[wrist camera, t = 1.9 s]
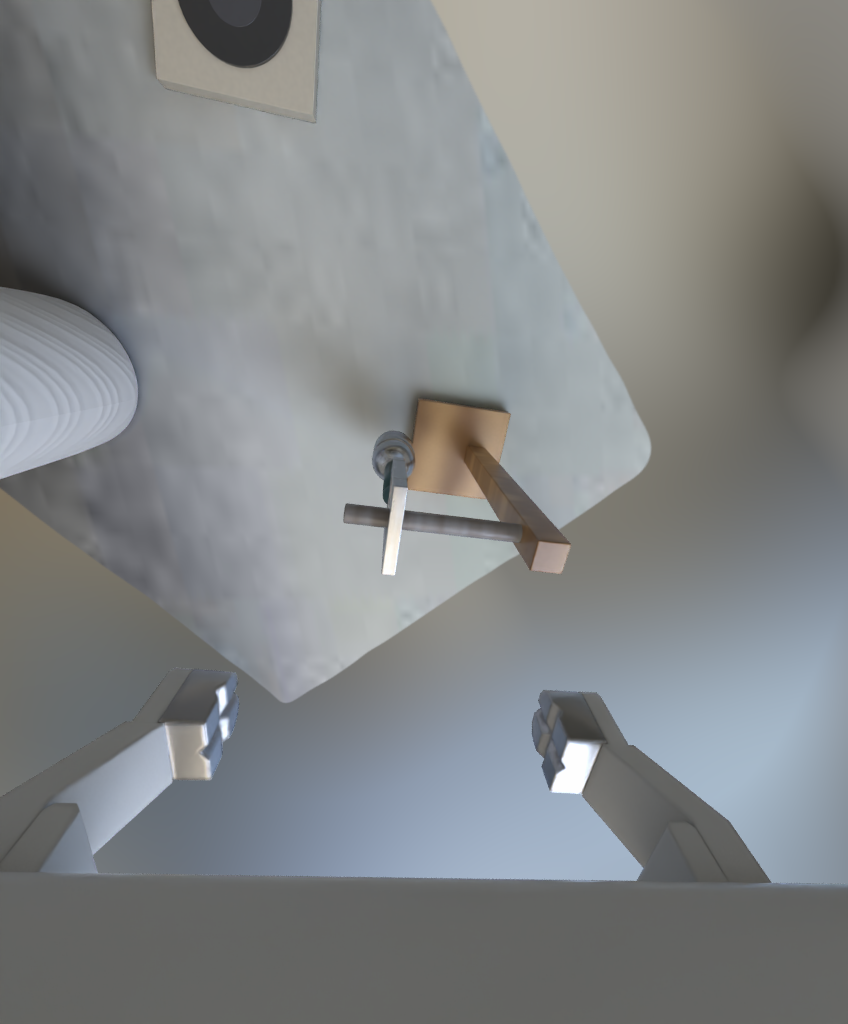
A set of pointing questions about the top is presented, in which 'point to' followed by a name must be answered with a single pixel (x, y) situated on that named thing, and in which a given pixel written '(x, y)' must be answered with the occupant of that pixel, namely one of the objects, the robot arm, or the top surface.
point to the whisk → (393, 488)
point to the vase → (58, 381)
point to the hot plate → (241, 52)
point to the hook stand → (471, 484)
